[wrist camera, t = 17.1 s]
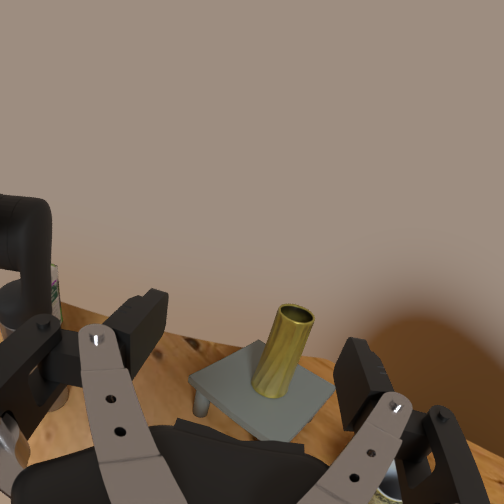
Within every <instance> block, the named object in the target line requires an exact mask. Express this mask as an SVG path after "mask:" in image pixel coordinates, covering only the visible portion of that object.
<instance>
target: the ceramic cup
mask: <svg viewBox="0 0 504 504" xmlns="http://www.w3.org/2000/svg"><path fill="white" fill-rule="evenodd" d="M368 504H403V503H402V497H401V492H400V486H399V481H398V476H397V471H396V466H395V461H394V460H393V462H392V464H391V466H390V467H389V469H388V471H387V473H386V475H385V476H384V478H383V480H382V482H381V483H380V485H379V487H378V488H377V490H376V492H375V493H374V495H373V497H372V498H371V500H370V501H369V503H368Z"/></svg>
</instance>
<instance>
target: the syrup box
mask: <svg viewBox="0 0 504 504" xmlns="http://www.w3.org/2000/svg"><path fill="white" fill-rule="evenodd" d="M57 267H58V266H57V265H54V264H51V282H52V295H51V300H52V310H53V316H55V317H57V318H58V319H59V321H60V325H61V323H62V322H63V318H62V311H61V302H60V293H59V281H58V268H57Z"/></svg>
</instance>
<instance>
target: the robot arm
mask: <svg viewBox="0 0 504 504" xmlns="http://www.w3.org/2000/svg"><path fill="white" fill-rule="evenodd" d="M51 244H52V215H51V210H50V207H49V205H48V203H47V202H46V201H45V200H43V199H40V198H34V197H33V198H32V197H22V196H10V195H3V194H0V269H5V270H12V271H18V272H20V277H21V279H19V280H15V281H12V282H10V283H8V284H6V285H4V286H3V287H2V288H1V289H0V329H1V333H2V336H3V340H4V341H3V342H1V343H0V491H1V492H2V493H4V494H5V495H6V496H8V497H9V498H10V499H11V504H368V503H369V501H370V500H371V498H372V497H373V495H374V493H375V492H376V490H377V488H378V487H379V485H380V483H381V482H382V480H383V478H384V476H385V475H386V473H387V471H388V469H389V467H390V466H391V464H392V462H393V460H394V461H395V466H396V471H397V476H398V481H399V486H400V492H401V497H402V503H403V504H490V501H489V498H488V495H487V492H486V489H485V487H484V484H483V481H482V478H481V476H480V473H479V470H478V468H477V465H476V463H475V460H474V458H473V455H472V453H471V451H470V448H469V446H468V444H467V441H466V439H465V437H464V435H463V433H462V430H461V428H460V426H459V424H458V422H457V420H456V418H455V416H454V414H453V413H452V412H451V411H450V410H449V409H447V408H446V407H444V406H440V405H435V406H432V407H431V409H430V410H429V411H428V412H427V414H426V413H422V412H419V411H415V410H412V404H411V403H410V401H409V400H408V399H407V398H406V397H405V396H403V395H401V394H399V393H396V392H395V391H394V389H393V387H392V384H391V382H390V380H389V378H388V375H387V374H386V371H385V368H383V364H382V362H381V360H380V358H379V357H378V356H377V355H376V354H375V353H374V352H371V350H370V349H369V346H368V344H367V341H366V340H364V339H358V338H353V337H349V338H348V339H347V341H346V343H345V345H344V347H343V349H342V352H341V354H340V356H339V358H338V360H337V362H336V364H335V367H334V372H333V378H334V383H335V388H336V393H337V397H338V403H339V408H340V413H341V418H342V424H343V429H344V431H353V432H354V433H355V435H354V436H353V438H352V439H351V440H350V442H349V443H348V444H347V446H346V447H345V448H344V449H343V451H342V452H341V453H340V454H339V456H338V457H337V458H336V459H335V460H334V462H333V463H332V464H331V465H330V466H328V465H327V464H325V463H324V462H322V461H321V460H319V459H317V458H315V457H313V456H311V455H308V454H306V453H304V444H298V443H289V442H282V441H275V440H268V441H240V440H237V439H235V438H232V437H230V436H228V435H225V434H223V433H221V432H219V431H217V430H215V429H212V428H210V427H208V426H204V425H200V424H197V423H193V422H190V421H187V420H183V419H180V418H177V420H176V423H175V425H174V426H170V425H157V426H149V427H148V425H147V422H146V420H145V417H144V415H143V412H142V409H141V407H140V404H139V401H138V398H137V395H136V393H135V390H134V387H133V384H132V380H133V379H134V377H135V376H136V374H137V373H138V371H139V370H140V368H141V367H142V365H143V364H144V362H145V361H146V359H147V358H148V356H149V355H150V353H151V352H152V350H153V349H154V347H155V346H156V344H157V343H158V341H159V340H160V338H161V337H162V335H163V333H164V330H165V326H166V317H167V306H168V293H166V292H163V291H159V290H156V289H153V288H152V289H150V290H149V291H148V292H147V293H146V294H145V295H144V296H143V297H142V296H139V295H138V296H135V297H132V298H130V299H128V300H127V301H126V302H125V303H124V304H123V305H122V306H120V307H119V308H118V310H116V311H115V312H114V313H113V314H112V315H111V316H110V317H109V318H108V319H107V320H106V321H105V322H104V323H103V324H89V325H86V326H84V327H83V328H81V329H80V331H79V332H74V331H69V330H64V329H61V325H60V321H59V319H58V318H57V317H55V316H53V310H52V300H51V295H52V282H51ZM67 385H72V386H77V387H82V388H83V392H84V399H85V405H86V410H87V415H88V421H89V425H90V430H91V435H92V439H93V443H94V446H93V447H90V448H87V449H84V450H81V451H78V452H75V453H71V454H68V455H65V456H61V457H58V458H55V459H51V460H47V461H43V462H40V463H36V464H33V465H30V466H28V467H27V464H28V460H29V457H30V446H29V443H28V442H27V441H28V440H29V438H30V437H31V435H32V434H33V432H34V431H35V429H36V428H37V426H38V425H39V423H40V422H41V421H42V419H43V418H44V416H45V415H46V414H47V412H50V411H55V410H57V409H59V408H60V407H62V406H63V405H64V404H65V403H66V401H67V398H68V388H67ZM431 452H433V455H434V458H435V462H436V465H435V469H434V471H433V472H432V473H431V469H430V466H429V463H428V459H427V456H428V455H429V454H430V453H431Z"/></svg>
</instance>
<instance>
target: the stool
mask: <svg viewBox="0 0 504 504" xmlns="http://www.w3.org/2000/svg"><path fill="white" fill-rule="evenodd" d="M265 345H266V344H265V343H263V342H262V341H260V340H257V341H255V342H253V343H252V344H250V345H248V346H246V347H244V348H242V349H240V350H238V351H237V352H235V353H233V354H231V355H229V356H227V357H225V358H223V359H221V360H219V361H217V362H215V363H214V364H212V365H210V366H208V367H206V368H204V369H202V370H200V371H197V372H195V373H193V374H191V375H189V378H188V383H190V384H191V385H192V386H193V387H194V388H195V389H196V395H195V400H194V406H193V414H194V415H195V416H197V417H205V416H206V415H207V413H208V409H209V404H210V402H211V403H213V404H214V405H215V406H216V407H217V408H219V409H220V410H221V411H222V412H223V413H225V414H226V415H227V416H228V417H230V418H231V419H232V420H234V421H235V422H236V423H237V424H239V425H240V426H241V427H243V428H244V429H245V430H247V431H248V432H249V433H251V434H252V435H253V436H255V437H256V438H257V439H259V440H260V441H268V440H275V441H282V442H290V441H291V440H292V439H293V438H294V437H295V436H296V435H297V434H298V433H299V432H300V431H301V430H302V428H303V427H304V426H305V425H306V424H307V423H309V422H311V420H312V419H313V417H314V415H315V414H316V413H317V412H318V411H319V409H320V408H321V407H322V406H323V405H324V404H325V402H326V401H327V400H328V399H329V398H330V396H331V395H332V394H333V393H334V391H335V389H336V388H335V386H334V385H333V384H331V383H329V382H327V381H326V380H324V379H322V378H320V377H319V376H317V375H315V374H314V373H312V372H310V371H309V370H307V369H305V368H303V367H302V366H300V365H299V364H298V365H297V367H296V369H295V372H294V375H293V377H292V380H291V382H290V384H289V387H288V391H287V393H286V394H285V395H284V396H282V397H280V398H275V399H273V398H267V397H264V396H262V395H260V394H258V393H257V392H256V391H255V390H254V389H253V387H252V384H251V380H252V377H253V375H254V373H255V371H256V368H257V366H258V363H259V361H260V358H261V356H262V353H263V351H264V348H265Z"/></svg>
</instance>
